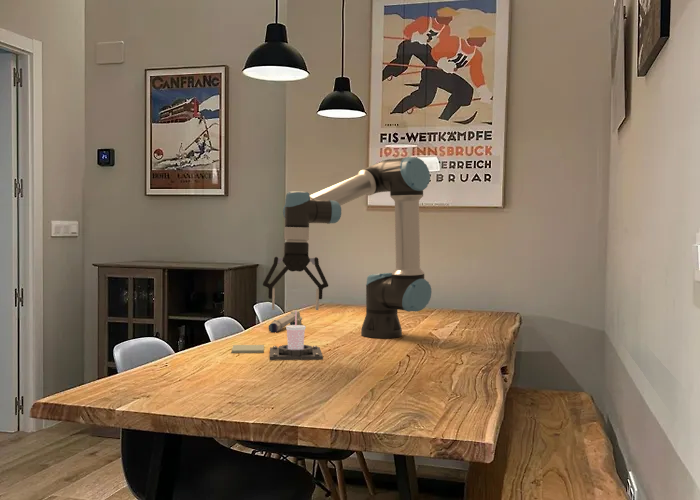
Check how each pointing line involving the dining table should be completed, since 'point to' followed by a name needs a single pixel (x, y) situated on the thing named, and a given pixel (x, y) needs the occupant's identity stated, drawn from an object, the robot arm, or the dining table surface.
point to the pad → (248, 349)
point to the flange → (295, 353)
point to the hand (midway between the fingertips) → (295, 309)
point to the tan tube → (285, 321)
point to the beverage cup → (295, 335)
